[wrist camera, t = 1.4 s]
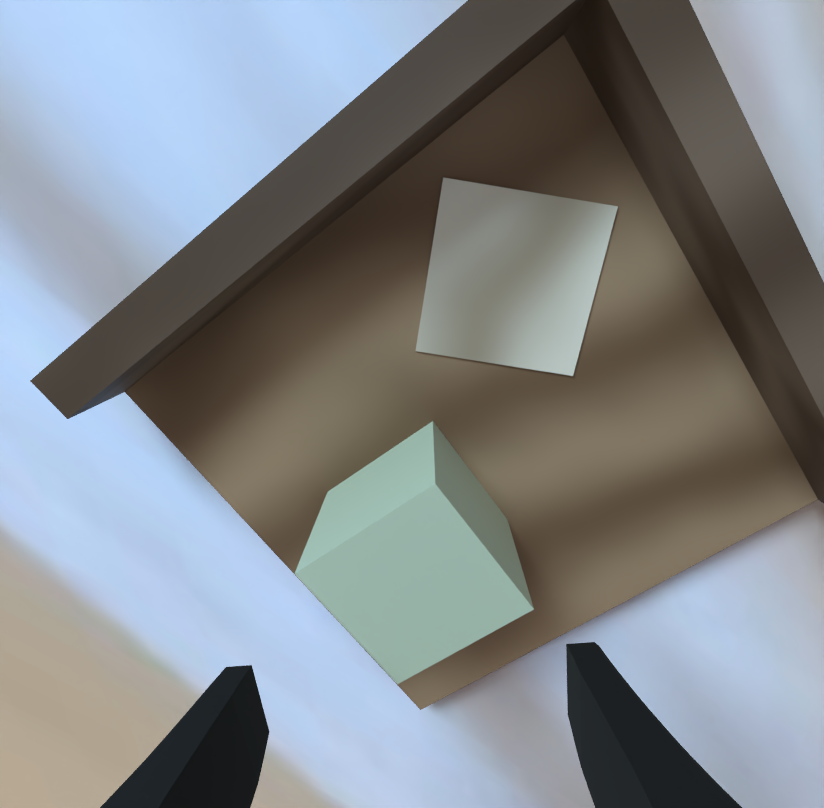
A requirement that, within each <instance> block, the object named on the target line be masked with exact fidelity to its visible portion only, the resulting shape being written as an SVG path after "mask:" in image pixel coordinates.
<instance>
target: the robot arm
mask: <svg viewBox="0 0 824 808" xmlns="http://www.w3.org/2000/svg"><path fill="white" fill-rule="evenodd" d="M566 646H567V694H568V717H569V721H570V725H571V729H572V733H573V737H574V741H575V745H576V749H577V753H578V757H579V760H580V764H581V768H582V771H583V774H584V777H585V779H586V782H587V785H588V788H589V791H590V794H591V797H592V800H593V802H594V805H595V808H742V807H741V806H740V805H739V804H738V803H737V802H736V801H735V800H734V799H733V798H732V797H731V796H730V795H729V794H728V793H726V792H725V791H724V790H723V789H722V788H721V787H720V786H719V785H718V784H717V783H716V782H715V780H714V779H713V778H712V777H711V776H710V775H709V774H708V773H707V772H706V771H705V770H704V769H703V768H702V767H701V766H700V765H699V764H698V763H697V762H696V761H695V760H694V759H693V758H692V757H691V756H690V755H689V753H688V752H687V751H686V750H685V749H684V748H683V747H682V746H681V745H680V744H679V743H678V742H677V740H676V739H675V738H674V737H673V736H672V735H671V734H670V733H669V731H668V730H667V729H666V728H665V727H664V726H663V725H662V724H661V722H660V721H659V720H658V719H657V718H656V717H655V716H654V714H653V713H652V712H651V711H650V710H649V709H648V707H647V706H646V705H645V704H644V703H643V702H642V700H641V699H640V698H639V697H638V696H637V694H636V693H635V692H634V691H633V689H632V688H631V687H630V686H629V684H628V683H627V682H626V681H625V680H624V678H623V677H622V676H621V674H620V673H619V672H618V671H617V669H616V668H615V667H614V665H613V664H612V663H611V662H610V660H609V659H608V658H607V656H606V655H605V653H604V652H603V651H602V649H601V648H600V647H599V646H598V645H597V644H596V643H595V642H591V643H576V644H566ZM268 735H269V729H268V725H267V722H266V718H265V714H264V710H263V707H262V703H261V699H260V695H259V691H258V688H257V684H256V680H255V676H254V673H253V669H252V665H250V666H235V667H226V668H225V669H224V670H223V671H222V672H221V674H220V675H219V676H218V677H217V678H216V679H215V680H214V681H213V683H212V684H211V685H210V686H209V687H208V688H207V690H206V691H205V692H204V693H203V694H202V695H201V697H200V698H199V699H198V700H197V701H196V702H195V704H194V705H193V706H192V707H191V708H190V709H189V711H188V712H187V713H186V714H185V715H184V716H183V718H182V719H181V720H180V721H179V722H178V723H177V725H176V726H175V727H174V728H173V729H172V730H171V731H170V733H169V734H168V735H167V736H166V737H165V738H164V739H163V740H162V742H161V743H160V744H159V745H158V746H157V747H156V748H155V749H154V751H153V752H152V753H151V754H150V755H149V756H148V757H147V758H146V760H145V761H144V762H143V763H142V764H141V765H140V766H139V767H138V768H137V769H136V770H135V771H134V772H133V774H132V775H131V776H130V777H129V778H128V779H127V780H126V781H125V782H124V783H123V784H122V785H121V786H120V787H119V788H118V789H117V791H116V792H115V793H114V794H113V795H112V796H111V797H110V798H109V799H108V800H107V801H106V802H105V803H104V804H103V805H102V806H101V807H100V808H250V807H251V804H252V800H253V797H254V794H255V791H256V788H257V785H258V781H259V776H260V772H261V768H262V764H263V759H264V754H265V750H266V745H267V740H268Z"/></svg>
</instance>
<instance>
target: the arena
mask: <svg viewBox="0 0 824 808" xmlns="http://www.w3.org/2000/svg"><path fill="white" fill-rule="evenodd" d="M31 382H32V383H33V384H34V385H35V386H36V387H37V388H38V389H39V390H40V391H41V392H42V393H43V394H44V395H45V396H46V398H47V399H48V400H49V401H50V402H51V403H52V404H53V405H54V406H55V407H56V408H57V409H58V410H59V411H60V412H61V413H62V414H63V415H64V416H65V417H66V418H67V419H69V418H71V417H73V416H75V415H77V414H79V413H81V412H84V411H86V410H88V409H90V408H92V407H94V406H96V405H98V404H100V403H102V402H104V401H106V400H109V399H111V398H113V397H115V396H117V395H119V394H121V393H123V392H125V393H126V394H127V395H128V396H129V397H130V398H131V399H132V400H133V401H134V402H135V403H136V404H137V405H138V407H139V408H140V409H141V410H142V411H143V412H144V413H145V414H146V415H147V416H148V417H149V418H150V419H151V420H152V422H153V423H154V424H155V425H156V426H157V427H158V428H159V429H160V430H161V431H162V432H163V433H164V434H165V436H166V437H167V438H168V439H169V440H170V441H171V442H172V443H173V444H174V445H175V446H176V447H177V448H178V450H179V451H180V452H181V453H182V454H183V455H184V456H185V457H186V458H187V459H188V460H189V461H190V462H191V463H192V465H193V466H194V467H195V468H196V469H197V470H198V471H199V472H200V473H201V474H202V475H203V476H204V477H205V479H206V480H207V481H208V482H209V483H210V484H211V485H212V486H213V487H214V488H215V489H216V490H217V491H218V493H219V494H220V495H221V496H222V497H223V498H224V499H225V500H226V501H227V502H228V503H229V504H230V505H231V507H232V508H233V509H234V510H235V511H236V512H237V513H238V514H239V515H240V516H241V517H242V518H243V519H244V520H245V522H246V523H247V524H248V525H249V526H250V527H251V528H252V529H253V530H254V531H255V532H256V533H257V534H258V536H259V537H260V538H261V539H262V540H263V541H264V542H265V543H266V544H267V545H268V546H269V547H270V548H271V550H272V551H273V552H274V553H275V554H276V555H277V556H278V557H279V558H280V559H281V560H282V561H283V562H284V563H285V565H286V566H287V567H288V568H289V569H290V570H291V571H292V572H293V573H294V574H295V571H296V569H297V566H298V564H299V561H300V559H301V556H302V554H303V551H304V549H305V546H306V544H307V542H308V539H309V537H310V534H311V532H312V529H313V527H314V524H315V522H316V519H317V517H318V514H319V512H320V509H321V507H322V504H323V502H324V499H325V497H326V494H327V492H328V491H329V490H331V489H332V488H334V487H335V486H337V485H338V484H340V483H341V482H343V481H344V480H346V479H347V478H349V477H350V476H352V475H353V474H355V473H356V472H358V471H359V470H361V469H362V468H364V467H365V466H367V465H368V464H370V463H371V462H373V461H374V460H376V459H377V458H379V457H380V456H382V455H383V454H385V453H386V452H387V451H389V450H390V449H392V448H393V447H395V446H396V445H398V444H399V443H401V442H402V441H404V440H405V439H407V438H408V437H410V436H411V435H413V434H414V433H416V432H417V431H419V430H420V429H422V428H423V427H425V426H426V425H428V424H429V423H431V422H432V421H433V422H434V423H435V424H436V426H437V427H438V428H439V430H440V431H441V432H442V434H443V435H444V436H445V438H446V439H447V440H448V442H449V443H450V444H451V446H452V447H453V448H454V450H455V451H456V452H457V453H458V455H459V456H460V457H461V459H462V460H463V461H464V463H465V464H466V465H467V467H468V468H469V469H470V471H471V472H472V473H473V475H474V476H475V477H476V479H477V480H478V481H479V483H480V484H481V485H482V486H483V488H484V489H485V490H486V492H487V493H488V494H489V496H490V497H491V498H492V500H493V501H494V502H495V504H496V505H497V506H498V508H499V509H500V510H501V512H502V513H503V514H504V516H505V517H506V518H507V520H508V523H509V527H510V530H511V533H512V537H513V540H514V544H515V547H516V550H517V554H518V557H519V560H520V564H521V567H522V571H523V574H524V577H525V581H526V584H527V587H528V591H529V594H530V597H531V601H532V604H533V608H534V610H532V611H530V612H528V613H526V614H525V615H523V616H521V617H519V618H517V619H516V620H514V621H512V622H510V623H508V624H506V625H505V626H503V627H501V628H499V629H497V630H495V631H494V632H492V633H490V634H488V635H486V636H485V637H483V638H481V639H479V640H477V641H475V642H474V643H472V644H470V645H468V646H466V647H465V648H463V649H461V650H459V651H457V652H455V653H454V654H452V655H450V656H448V657H446V658H444V659H443V660H441V661H439V662H437V663H435V664H434V665H432V666H430V667H428V668H426V669H424V670H423V671H421V672H419V673H417V674H415V675H414V676H412V677H410V678H408V679H406V680H404V681H403V682H401V683H399V684H397V683H396V682H395V681H394V680H393V679H392V678H391V679H392V680H393V681H394V682H395V683H396V684H397V685H398V686H399V687H400V688H401V689H402V690H403V691H404V692H405V694H406V695H407V696H408V697H409V698H410V699H411V700H412V701H413V702H414V703H415V704H416V705H417V706H418V708H419V709H420V710H421V709H423V708H425V707H427V706H429V705H431V704H432V703H434V702H436V701H438V700H440V699H442V698H444V697H446V696H448V695H449V694H451V693H453V692H455V691H457V690H459V689H461V688H463V687H465V686H466V685H468V684H470V683H472V682H474V681H476V680H478V679H480V678H482V677H483V676H485V675H487V674H489V673H491V672H493V671H495V670H497V669H499V668H500V667H502V666H504V665H506V664H508V663H510V662H512V661H514V660H516V659H517V658H519V657H521V656H523V655H525V654H527V653H529V652H531V651H533V650H534V649H536V648H538V647H540V646H542V645H544V644H546V643H548V642H550V641H551V640H553V639H555V638H557V637H559V636H561V635H563V634H565V633H567V632H568V631H570V630H572V629H574V628H576V627H578V626H580V625H582V624H583V623H585V622H587V621H589V620H591V619H593V618H595V617H597V616H599V615H600V614H602V613H604V612H606V611H608V610H610V609H612V608H614V607H616V606H617V605H619V604H621V603H623V602H625V601H627V600H629V599H631V598H633V597H634V596H636V595H638V594H640V593H642V592H644V591H646V590H648V589H650V588H651V587H653V586H655V585H657V584H659V583H661V582H663V581H665V580H667V579H668V578H670V577H672V576H674V575H676V574H678V573H680V572H682V571H684V570H685V569H687V568H689V567H691V566H693V565H695V564H697V563H699V562H701V561H702V560H704V559H706V558H708V557H710V556H712V555H714V554H716V553H718V552H719V551H721V550H723V549H725V548H727V547H729V546H731V545H733V544H735V543H736V542H738V541H740V540H742V539H744V538H746V537H748V536H750V535H751V534H753V533H755V532H757V531H759V530H761V529H763V528H765V527H767V526H768V525H770V524H772V523H774V522H776V521H778V520H780V519H782V518H784V517H785V516H787V515H789V514H791V513H793V512H795V511H797V510H799V509H801V508H802V507H804V506H806V505H808V504H810V503H812V502H814V501H816V500H820V501H821V502H823V503H824V282H823V280H822V278H821V276H820V274H819V272H818V270H817V268H816V266H815V263H814V261H813V259H812V257H811V255H810V253H809V251H808V249H807V247H806V245H805V242H804V240H803V238H802V236H801V234H800V232H799V230H798V228H797V226H796V224H795V221H794V219H793V217H792V215H791V213H790V211H789V209H788V207H787V205H786V203H785V201H784V198H783V196H782V194H781V192H780V190H779V188H778V186H777V184H776V182H775V180H774V177H773V175H772V173H771V171H770V169H769V167H768V165H767V163H766V161H765V159H764V156H763V154H762V152H761V150H760V148H759V146H758V144H757V142H756V140H755V138H754V136H753V133H752V131H751V129H750V127H749V125H748V123H747V121H746V119H745V117H744V115H743V112H742V110H741V108H740V106H739V104H738V102H737V100H736V98H735V96H734V94H733V91H732V89H731V87H730V85H729V83H728V81H727V79H726V77H725V75H724V73H723V71H722V68H721V66H720V64H719V62H718V60H717V58H716V56H715V54H714V52H713V50H712V47H711V45H710V43H709V41H708V39H707V37H706V35H705V33H704V31H703V29H702V26H701V24H700V22H699V20H698V18H697V16H696V14H695V12H694V10H693V8H692V6H691V3H690V1H689V0H468V1H467V2H466V3H465V4H463V5H462V6H461V7H460V8H459V9H458V10H457V11H455V12H454V13H453V14H452V15H451V16H450V17H448V18H447V19H446V20H445V21H444V22H443V23H442V24H440V25H439V26H438V27H437V28H436V29H435V30H434V31H432V32H431V33H430V34H429V35H428V36H427V37H425V38H424V39H423V40H422V41H421V42H420V43H419V44H417V45H416V46H415V47H414V48H413V49H412V50H410V51H409V52H408V53H407V54H406V55H405V56H404V57H402V58H401V59H400V60H399V61H398V62H397V63H396V64H394V65H393V66H392V67H391V68H390V69H389V70H387V71H386V72H385V73H384V74H383V75H382V76H381V77H379V78H378V79H377V80H376V81H375V82H374V83H373V84H371V85H370V86H369V87H368V88H367V89H366V90H364V91H363V92H362V93H361V94H360V95H359V96H358V97H356V98H355V99H354V100H353V101H352V102H351V103H349V104H348V105H347V106H346V107H345V108H344V109H343V110H341V111H340V112H339V113H338V114H337V115H336V116H335V117H333V118H332V119H331V120H330V121H329V122H328V123H326V124H325V125H324V126H323V127H322V128H321V129H320V130H318V131H317V132H316V133H315V134H314V135H313V136H312V137H310V138H309V139H308V140H307V141H306V142H305V143H303V144H302V145H301V146H300V147H299V148H298V149H297V150H295V151H294V152H293V153H292V154H291V155H290V156H288V157H287V158H286V159H285V160H284V161H283V162H282V163H280V164H279V165H278V166H277V167H276V168H275V169H274V170H272V171H271V172H270V173H269V174H268V175H267V176H265V177H264V178H263V179H262V180H261V181H260V182H259V183H257V184H256V185H255V186H254V187H253V188H252V189H251V190H249V191H248V192H247V193H246V194H245V195H244V196H242V197H241V198H240V199H239V200H238V201H237V202H236V203H234V204H233V205H232V206H231V207H230V208H229V209H227V210H226V211H225V212H224V213H223V214H222V215H221V216H219V217H218V218H217V219H216V220H215V221H214V222H213V223H211V224H210V225H209V226H208V227H207V228H206V229H204V230H203V231H202V232H201V233H200V234H199V235H198V236H196V237H195V238H194V239H193V240H192V241H191V242H190V243H188V244H187V245H186V246H185V247H184V248H183V249H181V250H180V251H179V252H178V253H177V254H176V255H175V256H173V257H172V258H171V259H170V260H169V261H168V262H166V263H165V264H164V265H163V266H162V267H161V268H160V269H158V270H157V271H156V272H155V273H154V274H153V275H152V276H150V277H149V278H148V279H147V280H146V281H145V282H143V283H142V284H141V285H140V286H139V287H138V288H137V289H135V290H134V291H133V292H132V293H131V294H130V295H129V296H127V297H126V298H125V299H124V300H123V301H122V302H120V303H119V304H118V305H117V306H116V307H115V308H114V309H112V310H111V311H110V312H109V313H108V314H107V315H105V316H104V317H103V318H102V319H101V320H100V321H99V322H97V323H96V324H95V325H94V326H93V327H92V328H91V329H89V330H88V331H87V332H86V333H85V334H84V335H82V336H81V337H80V338H79V339H78V340H77V341H76V342H74V343H73V344H72V345H71V346H70V347H69V348H68V349H66V350H65V351H64V352H63V353H62V354H61V355H59V356H58V357H57V358H56V359H55V360H54V361H53V362H51V363H50V364H49V365H48V366H47V367H46V368H44V369H43V370H42V371H41V372H40V373H39V374H38V375H36V376H35V377H34V378H33V379H32V380H31ZM298 579H299V578H298ZM299 580H300V579H299ZM300 581H301V580H300ZM301 582H302V581H301ZM302 583H303V582H302ZM303 584H304V583H303ZM311 593H312V592H311ZM312 594H313V593H312ZM313 595H314V594H313ZM314 596H315V595H314ZM315 597H316V596H315ZM316 598H317V597H316ZM317 599H318V598H317ZM325 608H326V607H325ZM326 609H327V608H326ZM327 610H328V609H327ZM328 611H329V610H328ZM329 612H330V611H329ZM330 613H331V612H330ZM338 622H339V621H338ZM339 623H340V622H339ZM340 624H341V623H340ZM341 625H342V624H341ZM342 626H343V625H342ZM343 627H344V626H343ZM351 636H352V635H351ZM352 637H353V636H352ZM353 638H354V637H353ZM354 639H355V638H354ZM355 640H356V639H355ZM356 641H357V640H356ZM365 651H366V650H365ZM366 652H367V651H366ZM367 653H368V652H367ZM368 654H369V653H368ZM369 655H370V654H369ZM370 656H371V655H370ZM378 665H379V664H378ZM379 666H380V665H379ZM380 667H381V666H380ZM381 668H382V667H381ZM382 669H383V668H382ZM383 670H384V669H383Z"/></svg>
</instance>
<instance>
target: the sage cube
mask: <svg viewBox="0 0 824 808" xmlns="http://www.w3.org/2000/svg"><path fill="white" fill-rule="evenodd" d="M295 575H296V576H297V577H298V578H299V579H300V580H301V581H302V582H303V583H304V585H305V586H306V587H307V588H308V589H309V590H310V591H311V592H312V593H313V594H314V595H315V596H316V597H317V598H318V600H319V601H320V602H321V603H322V604H323V605H324V606H325V607H326V608H327V609H328V610H329V611H330V612H331V614H332V615H333V616H334V617H335V618H336V619H337V620H338V621H339V622H340V623H341V624H342V625H343V626H344V628H345V629H346V630H347V631H348V632H349V633H350V634H351V635H352V636H353V637H354V638H355V639H356V640H357V642H358V643H359V644H360V645H361V646H362V647H363V648H364V649H365V650H366V651H367V652H368V653H369V654H370V655H371V657H372V658H373V659H374V660H375V661H376V662H377V663H378V664H379V665H380V666H381V667H382V668H383V669H384V671H385V672H386V673H387V674H388V675H389V676H390V677H391V678H392V679H393V680H394V681H395V682H396V683H397V684H399V683H401V682H403V681H404V680H406V679H408V678H410V677H412V676H414V675H415V674H417V673H419V672H421V671H423V670H424V669H426V668H428V667H430V666H432V665H434V664H435V663H437V662H439V661H441V660H443V659H444V658H446V657H448V656H450V655H452V654H454V653H455V652H457V651H459V650H461V649H463V648H465V647H466V646H468V645H470V644H472V643H474V642H475V641H477V640H479V639H481V638H483V637H485V636H486V635H488V634H490V633H492V632H494V631H495V630H497V629H499V628H501V627H503V626H505V625H506V624H508V623H510V622H512V621H514V620H516V619H517V618H519V617H521V616H523V615H525V614H526V613H528V612H530V611H532V610H534V608H533V604H532V601H531V597H530V594H529V591H528V587H527V584H526V581H525V577H524V574H523V571H522V567H521V564H520V560H519V557H518V554H517V550H516V547H515V544H514V540H513V537H512V533H511V530H510V527H509V523H508V520H507V518H506V517H505V516H504V514H503V513H502V512H501V510H500V509H499V508H498V506H497V505H496V504H495V502H494V501H493V500H492V498H491V497H490V496H489V494H488V493H487V492H486V490H485V489H484V488H483V486H482V485H481V484H480V483H479V481H478V480H477V479H476V477H475V476H474V475H473V473H472V472H471V471H470V469H469V468H468V467H467V465H466V464H465V463H464V461H463V460H462V459H461V457H460V456H459V455H458V453H457V452H456V451H455V450H454V448H453V447H452V446H451V444H450V443H449V442H448V440H447V439H446V438H445V436H444V435H443V434H442V432H441V431H440V430H439V428H438V427H437V426H436V424H435V423H434V422H433V421H432V422H431V423H429V424H428V425H426V426H425V427H423V428H422V429H420V430H419V431H417V432H416V433H414V434H413V435H411V436H410V437H408V438H407V439H405V440H404V441H402V442H401V443H399V444H398V445H396V446H395V447H393V448H392V449H390V450H389V451H387V452H386V453H385V454H383V455H382V456H380V457H379V458H377V459H376V460H374V461H373V462H371V463H370V464H368V465H367V466H365V467H364V468H362V469H361V470H359V471H358V472H356V473H355V474H353V475H352V476H350V477H349V478H347V479H346V480H344V481H343V482H341V483H340V484H338V485H337V486H335V487H334V488H332V489H331V490H329V491H328V492H327V494H326V497H325V499H324V502H323V504H322V507H321V509H320V512H319V514H318V517H317V519H316V522H315V524H314V527H313V529H312V532H311V534H310V537H309V539H308V542H307V544H306V546H305V549H304V551H303V554H302V556H301V559H300V561H299V564H298V566H297V569H296V571H295Z"/></svg>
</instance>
